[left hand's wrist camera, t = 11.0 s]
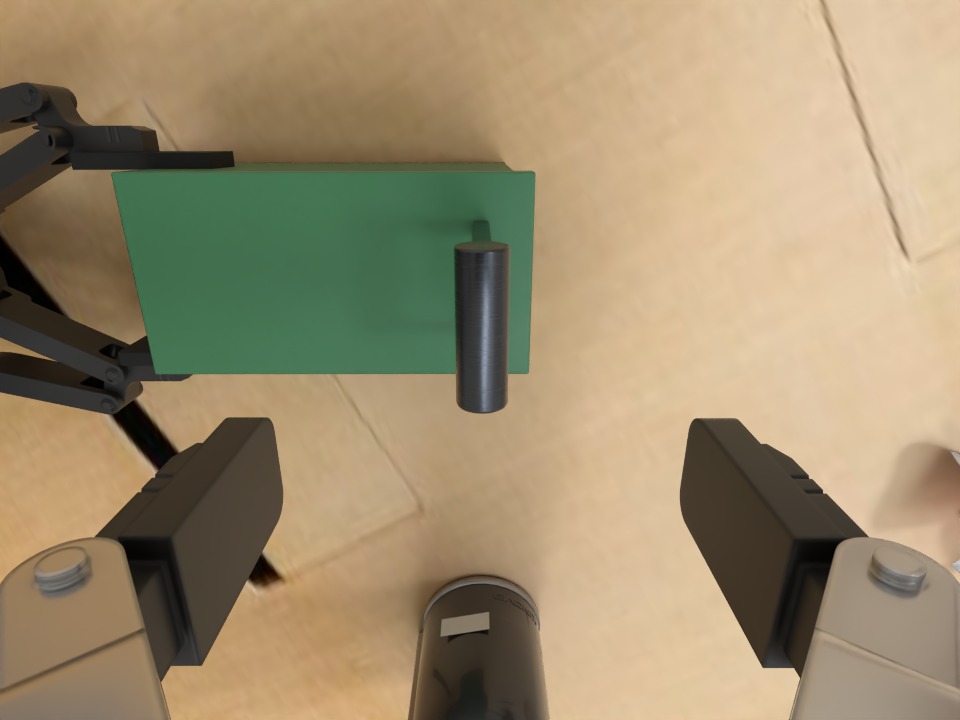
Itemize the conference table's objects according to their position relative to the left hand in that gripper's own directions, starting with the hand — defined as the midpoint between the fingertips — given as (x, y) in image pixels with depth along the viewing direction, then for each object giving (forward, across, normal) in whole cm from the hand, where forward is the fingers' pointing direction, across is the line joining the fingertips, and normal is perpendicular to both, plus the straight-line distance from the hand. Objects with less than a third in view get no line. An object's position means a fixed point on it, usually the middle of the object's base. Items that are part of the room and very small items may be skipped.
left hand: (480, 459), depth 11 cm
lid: (+17, +7, 0) cm, 18 cm away
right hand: (+20, +13, 0) cm, 24 cm away
